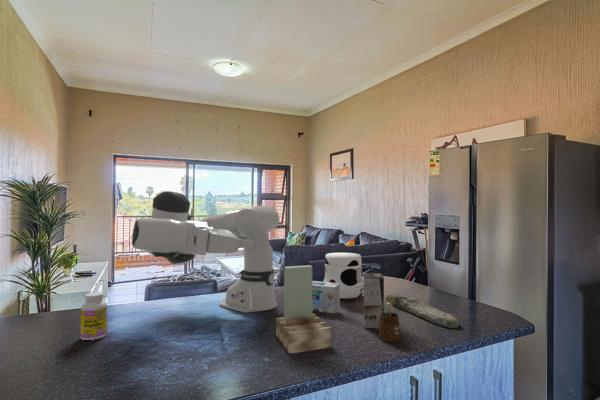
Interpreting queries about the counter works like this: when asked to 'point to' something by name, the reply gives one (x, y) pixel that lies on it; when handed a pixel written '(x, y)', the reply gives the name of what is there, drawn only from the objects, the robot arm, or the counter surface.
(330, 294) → the light bulb box
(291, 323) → the walnut offcut
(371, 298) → the coffee box
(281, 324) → the birch rack
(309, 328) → the oak offcut
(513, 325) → the counter surface
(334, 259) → the spotted cookie jar
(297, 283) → the tall panel
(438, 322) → the elongated rock
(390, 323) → the utensil holder
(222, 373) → the counter surface
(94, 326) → the supplement bottle
